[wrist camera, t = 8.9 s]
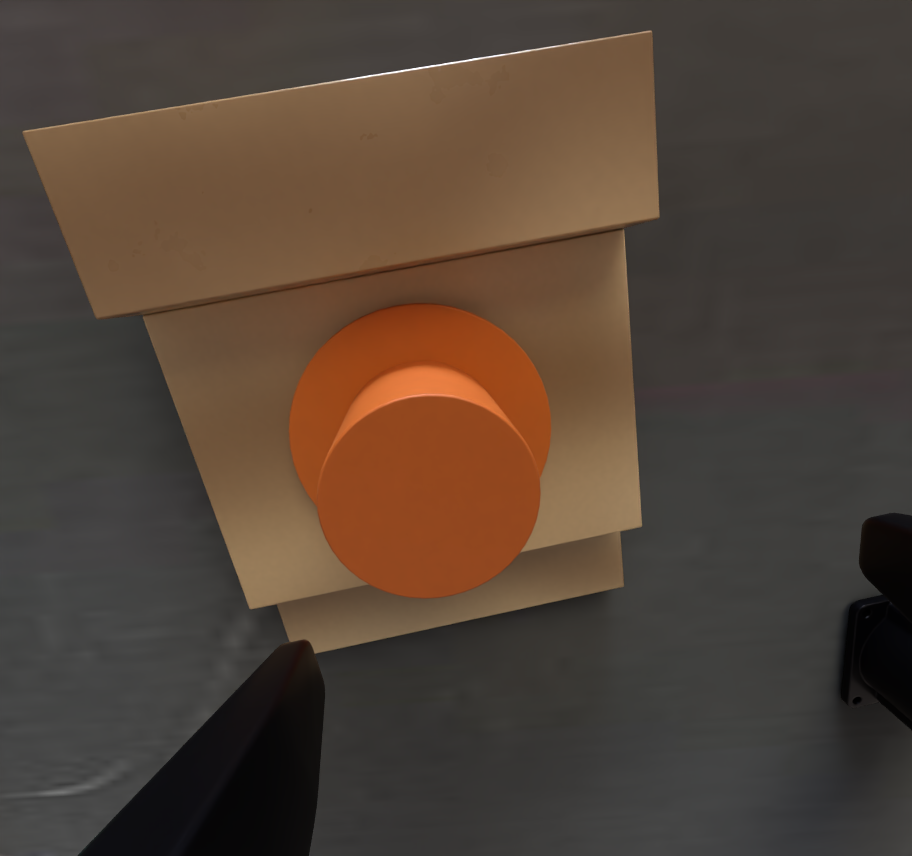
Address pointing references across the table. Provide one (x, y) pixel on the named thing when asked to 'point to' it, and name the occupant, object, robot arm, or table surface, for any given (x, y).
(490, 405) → the hat
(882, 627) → the robot arm
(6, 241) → the table surface
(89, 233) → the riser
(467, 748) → the table surface
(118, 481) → the table surface
